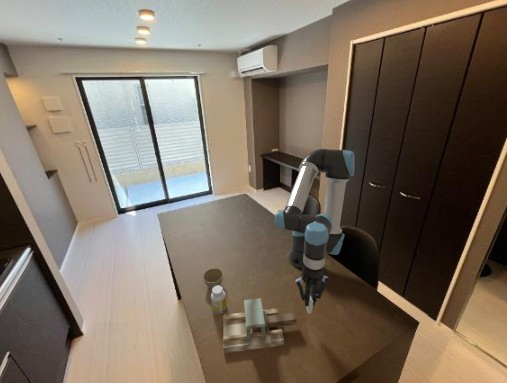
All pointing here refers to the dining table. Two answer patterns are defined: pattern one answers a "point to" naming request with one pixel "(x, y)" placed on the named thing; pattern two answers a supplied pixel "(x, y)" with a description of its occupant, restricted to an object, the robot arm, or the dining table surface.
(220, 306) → the pill bottle
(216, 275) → the flower pot
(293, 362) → the dining table surface
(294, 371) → the dining table surface
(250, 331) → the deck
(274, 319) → the tan wooden bar
